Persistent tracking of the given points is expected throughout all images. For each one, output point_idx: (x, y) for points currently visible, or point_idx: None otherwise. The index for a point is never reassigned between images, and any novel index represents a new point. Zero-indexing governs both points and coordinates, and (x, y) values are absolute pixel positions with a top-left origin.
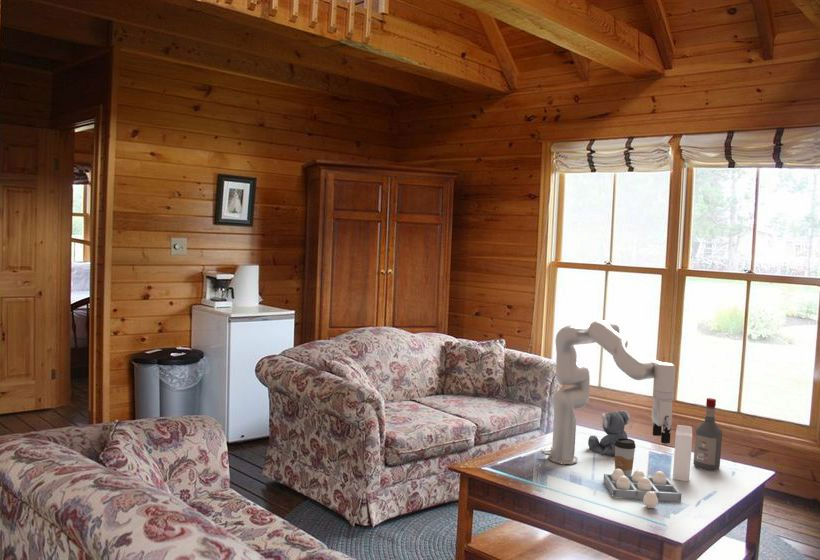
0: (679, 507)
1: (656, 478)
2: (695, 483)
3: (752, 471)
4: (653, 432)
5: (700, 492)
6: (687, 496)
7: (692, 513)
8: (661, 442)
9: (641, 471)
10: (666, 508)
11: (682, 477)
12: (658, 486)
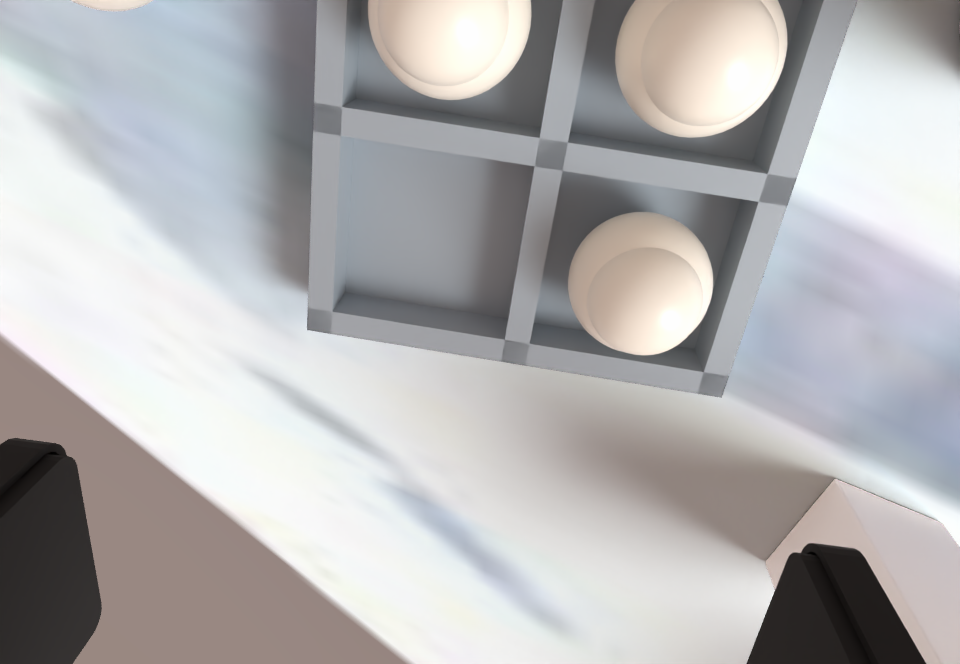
0: (201, 229)
1: (606, 241)
2: (719, 583)
3: None
4: (844, 619)
5: (534, 530)
6: (450, 404)
7: (97, 275)
8: (26, 440)
9: (687, 83)
10: (153, 98)
11: (802, 545)
12: (526, 212)
